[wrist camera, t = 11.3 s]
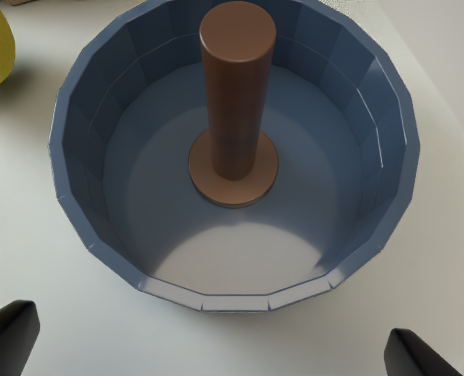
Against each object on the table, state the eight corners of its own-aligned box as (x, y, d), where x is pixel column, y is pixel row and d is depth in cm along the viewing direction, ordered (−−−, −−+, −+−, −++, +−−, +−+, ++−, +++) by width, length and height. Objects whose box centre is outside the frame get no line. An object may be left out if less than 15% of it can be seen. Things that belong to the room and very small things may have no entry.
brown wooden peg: (290, 193, 19) (349, 76, 10) (203, 219, 19) (178, 124, 9) (259, 117, 21) (286, -48, 11) (178, 140, 20) (135, -13, 11)
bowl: (418, 257, 19) (490, 235, 14) (129, 357, 17) (87, 375, 12) (308, 32, 24) (331, -48, 18) (73, 93, 22) (25, 24, 17)
